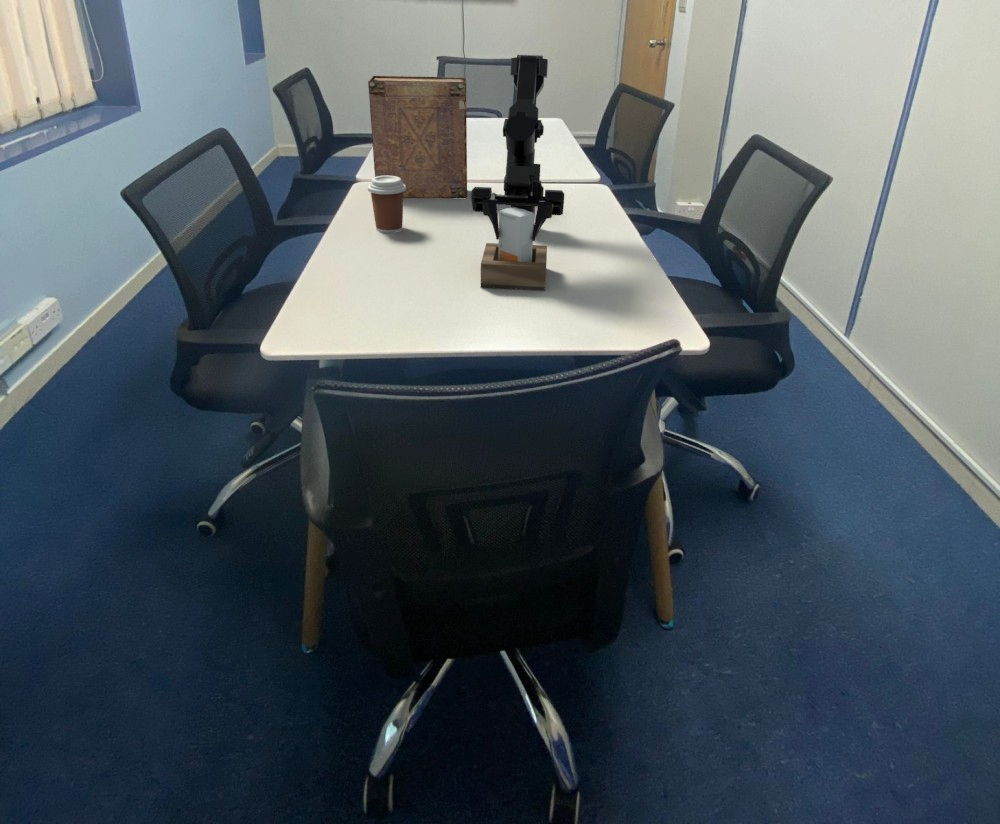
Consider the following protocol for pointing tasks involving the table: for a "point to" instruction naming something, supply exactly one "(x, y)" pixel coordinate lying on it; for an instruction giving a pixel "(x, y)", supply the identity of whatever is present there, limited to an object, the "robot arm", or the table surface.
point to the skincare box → (515, 235)
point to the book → (420, 133)
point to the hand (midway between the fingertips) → (515, 239)
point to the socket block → (513, 270)
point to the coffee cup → (387, 202)
